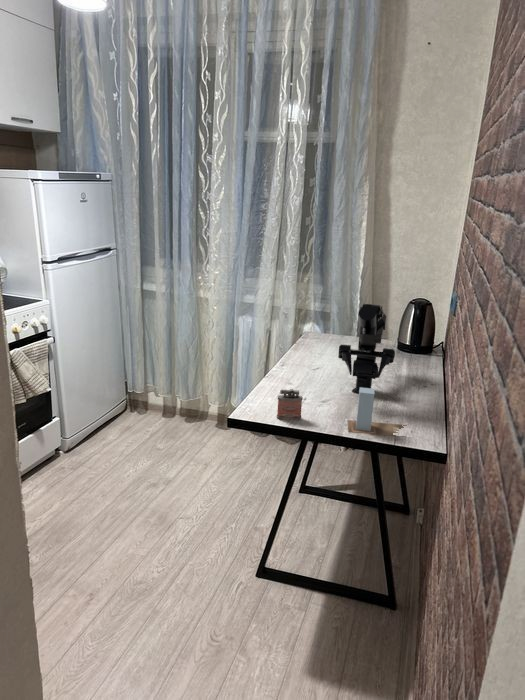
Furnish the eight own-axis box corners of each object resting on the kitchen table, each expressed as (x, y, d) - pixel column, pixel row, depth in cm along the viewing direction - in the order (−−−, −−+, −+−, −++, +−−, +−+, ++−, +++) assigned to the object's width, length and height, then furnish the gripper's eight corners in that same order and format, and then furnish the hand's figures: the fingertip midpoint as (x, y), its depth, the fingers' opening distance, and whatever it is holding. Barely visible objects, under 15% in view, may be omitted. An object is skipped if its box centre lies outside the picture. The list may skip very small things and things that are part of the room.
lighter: (300, 416, 178) (302, 388, 175) (301, 420, 175) (303, 391, 172) (276, 415, 178) (277, 387, 175) (276, 420, 175) (278, 391, 172)
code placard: (409, 425, 174) (409, 425, 174) (413, 438, 166) (413, 437, 166) (347, 420, 176) (347, 420, 176) (348, 432, 168) (348, 432, 168)
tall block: (356, 423, 174) (359, 387, 170) (370, 425, 173) (374, 388, 170) (355, 429, 170) (359, 392, 166) (370, 431, 169) (374, 393, 165)
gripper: (341, 321, 182) (337, 362, 175) (397, 326, 180) (396, 368, 172) (340, 337, 192) (336, 377, 185) (393, 342, 189) (391, 382, 182)
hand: (364, 376), depth 181 cm, fingers open, 9 cm apart
